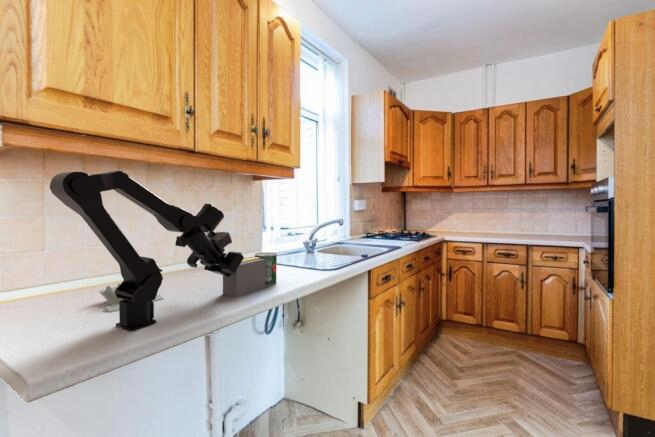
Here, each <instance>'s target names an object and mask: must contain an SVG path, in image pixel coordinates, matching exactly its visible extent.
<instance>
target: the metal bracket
mask: <svg viewBox="0 0 655 437" xmlns="http://www.w3.org/2000/svg"><path fill="white" fill-rule="evenodd" d="M120 284H121V283H119V282H118V283H117V286H116V287H111V285H107V286H106V287H105V289H100V290H98V293H100V295H101V296H102V297H103V298H104V299H105V300H106V301H107V302H108V303H110V305H108V306H107V305H106V306H105V310H106V311H107V312H108V313H115V312H119V301H122V299H118V298H117V297H116V295H115V292H114V291H115V290H116V289H117V287H118V286H119V285H120ZM164 299H165V298H164V297H163V296H162V295H161V294H157V295H156V299H155V300H152V302H154V303H156V302H159V301H163V300H164Z"/></svg>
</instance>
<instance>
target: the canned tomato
mask: <svg viewBox="0 0 655 437" xmlns="http://www.w3.org/2000/svg"><path fill="white" fill-rule="evenodd" d="M277 255H278V253H275V252H257V253H255V254H254V258H255V257H260V259H265V287H271V286H275V285H277Z"/></svg>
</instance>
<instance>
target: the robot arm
mask: <svg viewBox="0 0 655 437" xmlns="http://www.w3.org/2000/svg"><path fill="white" fill-rule="evenodd" d="M49 190H50V192H51V194H53V196H54V197H55V198H57V199H58V200H59V201H60V202H61V203H62V204H64V205H65V206H66V207H68V208H69V209H71V210H72V211H73V212H74V213H76V214H78V215H79V216H80V217H81V218H82V219H83V220H84V222H85V223H86V224H87V226H88V227H89V228H90V229H91V231H92V232H93V233H94V234H95V235H96V237H97V238H98V240H99V241H100V242H101V244H102V245H104V247H105V248H106V250H107V251H108V252H109V254H110V255H111V256H112V257H113V260H115V261H116V263H117V264H118V265H119V270H120V275H121V277H122V279H123V281H122V282H121V283H119V284H120V285H119V286H118V285H117V286H116V287H117V289H116V290H115V291H114V292H115V295H116V297H117V298H118V299H122V301H119V311H118V312H119V322H117V323H115V326H116V327H119V328H121V329H124V330H128V331H130V332H131V331H136V330H137V329H140V328H143V327H147V326H150V325H152V324H153V325H154V324H156V323H157V319H154V318H155V302H152V300H155V299H156V295H158V291H159V289H160V287H161V286H162V283H163V280H164V279H163V278H164V277H163V274H162V272H163V269H161V268H160V267H159V266H158V265H157V262H156V260H155V259H154V258H151V257H146V256H141V255H140V254H139V253H138V252H137V251H136V249H135V247H133V245H132V243H131V242H130V240H128V238H127V237H126V235H125V234H124V233H123V231H122V230H121V228H120V227H119V226H118V224H117V223H116V222H115V221H114V219H113V218H112V216H111V215H110V213H109V212H108V210H107V209H106V208H105V207H104V202H103V196H102V192H106V191H112V190H113V191H115V192H116V193H118V195H121V196H123V197H124V198H126V199H127V200H128V201H131V202H132V203H134V205H137V206H138V207H139V208H142V209H143V210H145V211H146V212H148V213H149V214H151V215H152V216H153V217H154V218H155V219H156V221H157V222H158V223H159V224H160V225H161V226H162V227H163V228H164V229H166V230H167V231H169V232H174V233H181V234H180V235H179V236H178V235H177V236H176V240H175V243H174V244H175V246H176V247H180V248H186V246H187V247H188V248H189V249H190V251H192V252H191V254H189V256H188V257H187V259H186V264H187V265H188V266H189V267H190V268H195V269H196V268H197V267H198V266H199V265H198V264H197V262H199V263H200V265H201V266H202V265H203V266H204V267H203V269H204V271H207V272H211V273H214V274H218V275H221V276H223V275H224V276H227V277H229V276H230V275H231V273H234V272H236V270H237V268H238V267H239V265H240V263H241V262H242V260H243V259H245V257H244V255H243V254H242V252H239V251H228V252H227V253H226V252H225V250H226V249H225V248H226V247H227V246H228V245H229V244H230V245H231V244H233V241H232V236H231V234H230V232H225V231H215V230H216V228H218V226H219V224H221V222H222V221H223V219H224V218H225V215H224V213H223V211H222V210H220V209H218V208H217V207H215V206H212V204H211V203H204V204H203V205H202V207H201V209H200V211H198V212H197V214H196V215H194V214H193V213H192V212H190V211H188V210H186V209H184V208H181V207H180V206H177V205H176V206H175V205H173V204H171V203H169V202H166V201H165V200H164V199H163V198H161V197H159V196H158V195H156V194H155V193H154V192H152V191H151V190H149V189H148V188H146V187H145V186H143V185H142V184H140V183H139V182H138V181H136V180H134V179H133V178H132V177H130V176H129V174H128V173H127V172H125V171H123V170H113V171H112V170H110V171H108V172H104V173H95V174H93V173H92V174H89V173H87V172H83V171H69V172H60V173H57V174H56V175H54V176H53V177H52V178H51V180H50V184H49Z"/></svg>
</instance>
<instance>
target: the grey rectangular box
mask: <svg viewBox="0 0 655 437" xmlns="http://www.w3.org/2000/svg"><path fill="white" fill-rule="evenodd" d="M263 288H266V286H265V259H260V257H255V256H254V257H248V258H244V259H243V260H242V262H241V263H240V265H239V267H238V268H237V270H236V272H234V273H231V275H230V276H229V277H227V276H224V275H222V295H226V296H229V297H236V298H238V297H241V296H244V295H247V294H250V293H252V292H255V291H258V290H261V289H263Z"/></svg>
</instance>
